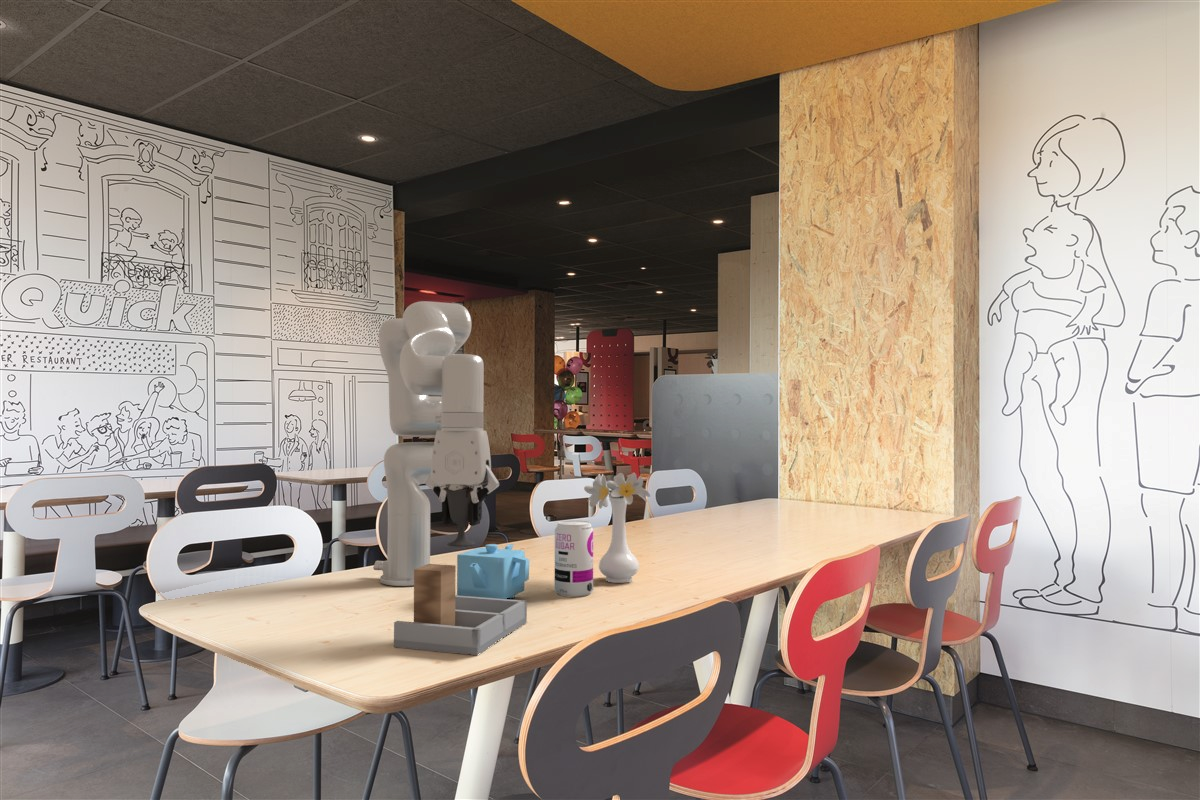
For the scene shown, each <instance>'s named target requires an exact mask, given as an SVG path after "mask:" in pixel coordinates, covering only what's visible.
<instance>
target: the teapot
mask: <svg viewBox="0 0 1200 800" xmlns="http://www.w3.org/2000/svg"><path fill="white" fill-rule="evenodd" d="M484 546H485V547H477V548H474V549H471V550H468V551H464V552H462V553H461V552H460V553H459V554H457V556H456V557H457V558H456V563H457V565H456V571H457V572H456V595H458V596H471V597H484V598H497V599H507V598H514V597H515V595H516V596H517V594H520V593H522V592H524V591H525V582H527V581H529V579H530V558H528V557H525V550H521V549H520V550H519V549H512V548H513V547H514V544H513V543H510V544H507V545H506V546H505V547H504V548H498V546H499V544H496V543H489V544H485V545H484ZM514 599H515V598H514Z"/></svg>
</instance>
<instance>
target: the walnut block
mask: <svg viewBox="0 0 1200 800" xmlns="http://www.w3.org/2000/svg"><path fill="white" fill-rule="evenodd" d="M456 571H457V565H455V564H454V565H453V564H439V563H437V564H436V563H430V564H427V565H425V566H422V567H419V568H416V569H414V585H413V622H417V623H428V624H439V625H450V626H455V595H456V574H457V572H456Z"/></svg>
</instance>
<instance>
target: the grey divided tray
mask: <svg viewBox="0 0 1200 800" xmlns="http://www.w3.org/2000/svg"><path fill="white" fill-rule="evenodd" d="M527 602H528V601H527V600H523V599H522V600H520V599H519V600H518V599H497V598H484V597H471V596H458V595H457V594H455V626H450V625H439V624H428V623H417V622H414V621H405V620H395V621H394V622H393V647H394V648H400V649H401V648H402V649H410V650H417V651H418V650H419V651H429V652H431V651H432V652H437V653H439V652H440V653H450V654H457V653H461V654H460V655H467V654H471V655H470V656H476V655H478V654H479V653H481V652H482V653H484V652H485V651H487V650H488V649H489V648H488V647H490V646H491V645H493V644H494V643H495V642H497V641H498V640H500V639H501V638H503V637H505V636H506V635H508V634H509V633H511V632H512V633H514V632H515V631H516V630H515V629H517V628H518V627H520V626H521V627H523V626H524V625H526V624H527V623H526V622H527V619H528V618H527V610H528V609H527V608H528V607H527V606H528V603H527ZM525 623H526V624H525ZM523 624H524V625H523ZM522 625H523V626H522ZM521 627H520V628H521ZM518 629H519V628H518ZM518 629H517V630H518ZM514 630H515V631H514ZM513 631H514V632H513ZM512 633H511V634H512ZM509 635H510V634H509ZM509 635H508V636H509ZM506 637H507V636H506ZM506 637H505V638H506ZM503 639H504V638H503ZM500 641H501V640H500ZM497 643H498V642H497ZM494 645H495V644H494ZM494 645H493V646H494ZM491 647H492V646H491ZM491 647H490V648H491ZM487 648H488V649H487ZM486 649H487V650H486ZM484 650H485V651H484ZM483 651H484V652H483ZM482 653H481V654H482ZM479 655H480V654H479ZM479 655H478V656H479Z"/></svg>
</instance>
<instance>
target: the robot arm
mask: <svg viewBox="0 0 1200 800" xmlns="http://www.w3.org/2000/svg"><path fill="white" fill-rule="evenodd" d="M402 314H403V315H402V318H400V317H399V318H390V319H388V320H385V321H384V322H383V323H381V325H380V327H379V332H378V347H379V351H380V352H379V353H380V356H381V359H382V363H383V365H384V367H385V370H386V373H387V378H388V410H389V411H388V412H389V425H390V429H391V431H392V433H393V434H394V435H396V436H399V437H408V438H409V437H410V438H411V437H413V438H415V437H416V438H418V437H419V438H420V437H423V438H424V437H425V438H426V437H429V438H430V437H431V438H433V437H434V442H433V441H428V442H427V441H425V442H424V441H415V442H414V441H407V442H406V441H405V442H400V443H394V444H392V445H390V446H389V447H388V448H387V449H386V450H385V453H384V456H383V465H384V466H383V467H384V474H385V479H386V488H387V491H386V492H387V542H386V543H387V545H386V546H387V552H386V553H387V554H386V555H387V557H386V558H387V559H386V560H375V562H374V564H373V568H372V569H373V570H374V571H382V575H380V578H379V582H380V583H381V584H383V585H387V586H393V587H412V586H413V587H414V569H416V568H419V567H422V566H425V565H427V564H431V502H430V499H429V497H428V496H427V495H426V494H425V492H424V491H423V490H422V489H421V487H420V485H423V484H425V486H426V487H428V488H429V489H431V490H432V491H433V492H434V494H435V495H436V496H437V497H438V500H439V501H440V502H441V519H442V524H443V525H450V524H453V523H454V522H453V520H452V519H451V517H450V513H449V506H448V498H447V493H446V491H445V490H443V488H445V487H448V488H449V486H450V485H458V486H469V489H473V491H471V492H470V493H471V498H472V503H470V504H469V522H468V525H469V527H470V526H471V527H472V526H477V525H480V524H481V521H482V518H483V516H482V515H483V513H482V512H483V507H482V506H483V502H484V501H485V499H486V498H487V497H488V496H489V495H490V494H491V493H492V492H493V491H494V490H496V489H497V488H499V486H500V482H499V480H498V478H497V477H496V475H495V474H494V473H493V471H492V459H491V449H490V443H489V442H490V441H489V437H488V433H487V430H484V396H485V395H484V381H485V380H484V378H485V377H484V373H485V372H484V371H485V370H484V369H485V368H484V366H485V365H484V364H485V363H484V360H483V358H482V357H481V356H479V355H476V354H470V353H469V354H468V353H457V352H458V350H460V349H461V348H462V346H463V345H464V344H465V343H466V342H467V340H468V339H469V337H470V335H471V331H472V317H471V314H470V312H469V310H468V309H467V308H466V307H465V306H464V305H462V304H459V303H454V302H453V303H451V302H440V301H430V300H429V301H424V300H421V301H417V302H416V301H415V302H413V303H411V304H410V305H408V306H407V307H406V309H404V312H403V313H402ZM486 484H487V485H486ZM483 485H485V486H484V487H483ZM477 488H479V489H480V490H479V491H477Z"/></svg>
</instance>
